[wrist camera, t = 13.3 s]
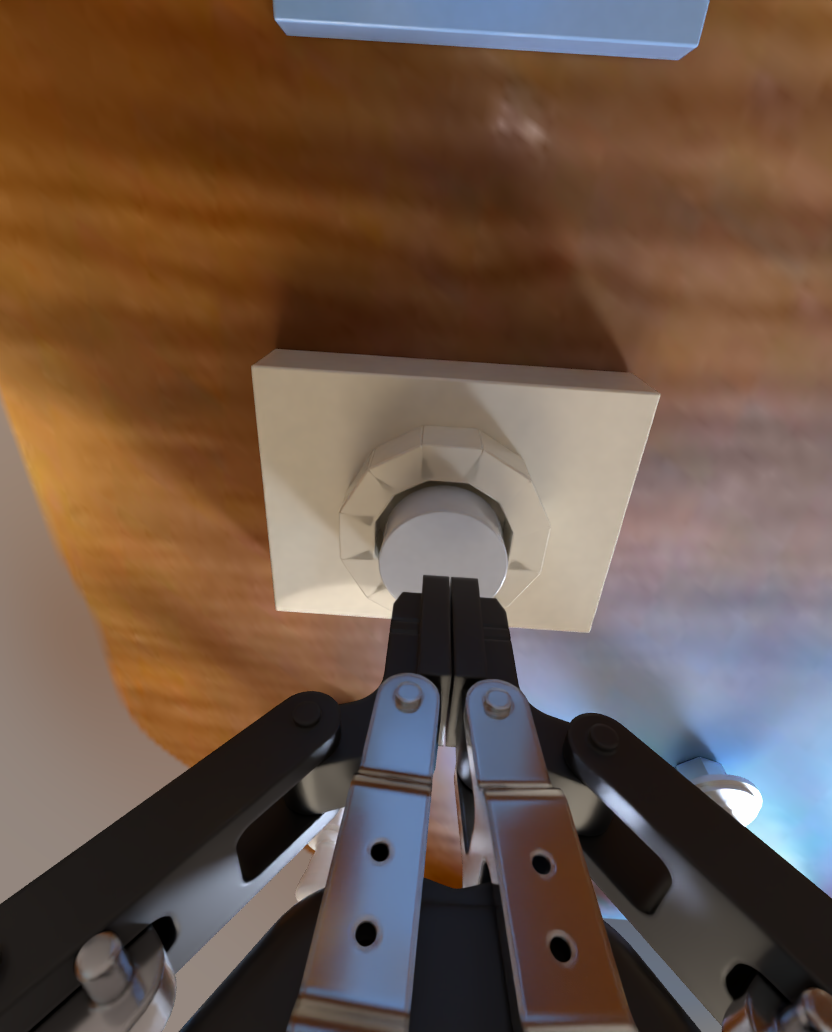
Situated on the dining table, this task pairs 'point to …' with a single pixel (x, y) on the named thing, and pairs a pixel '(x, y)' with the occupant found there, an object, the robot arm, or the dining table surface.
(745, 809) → the screw
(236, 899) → the robot arm
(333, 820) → the chess piece
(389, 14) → the lever bracket
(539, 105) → the dining table surface
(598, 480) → the dial knob panel
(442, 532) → the grey push button
